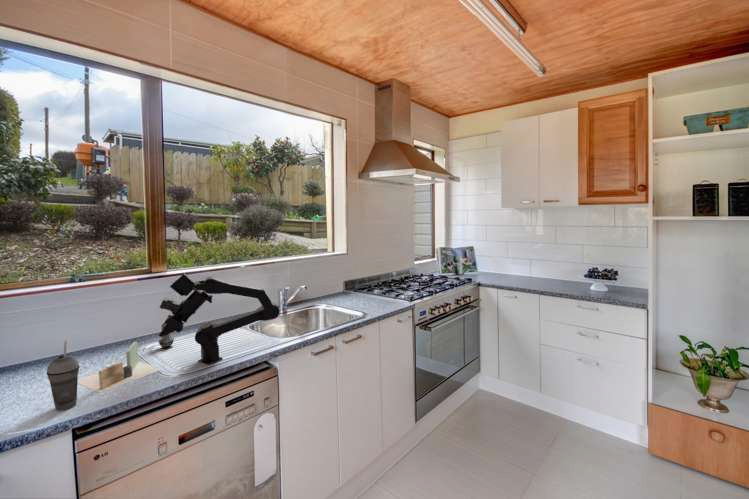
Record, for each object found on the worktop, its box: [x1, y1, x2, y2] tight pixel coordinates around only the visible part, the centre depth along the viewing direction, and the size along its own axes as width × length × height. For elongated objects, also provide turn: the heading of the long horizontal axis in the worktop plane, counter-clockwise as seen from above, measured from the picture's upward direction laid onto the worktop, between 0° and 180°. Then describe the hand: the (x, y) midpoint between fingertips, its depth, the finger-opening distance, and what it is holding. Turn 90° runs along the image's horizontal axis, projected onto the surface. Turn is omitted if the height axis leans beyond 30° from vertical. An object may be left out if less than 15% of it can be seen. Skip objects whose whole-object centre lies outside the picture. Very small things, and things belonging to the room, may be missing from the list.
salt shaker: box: [158, 322, 175, 351], centre depth 152 cm, size 6×6×12 cm
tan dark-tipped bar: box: [98, 361, 132, 389], centre depth 120 cm, size 11×2×6 cm, turn 167°
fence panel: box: [125, 340, 139, 371], centre depth 131 cm, size 11×1×8 cm, turn 22°
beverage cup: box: [45, 340, 80, 412], centre depth 104 cm, size 7×7×20 cm
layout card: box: [77, 360, 159, 394], centre depth 126 cm, size 17×20×1 cm
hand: (160, 336), depth 132 cm, fingers closed
